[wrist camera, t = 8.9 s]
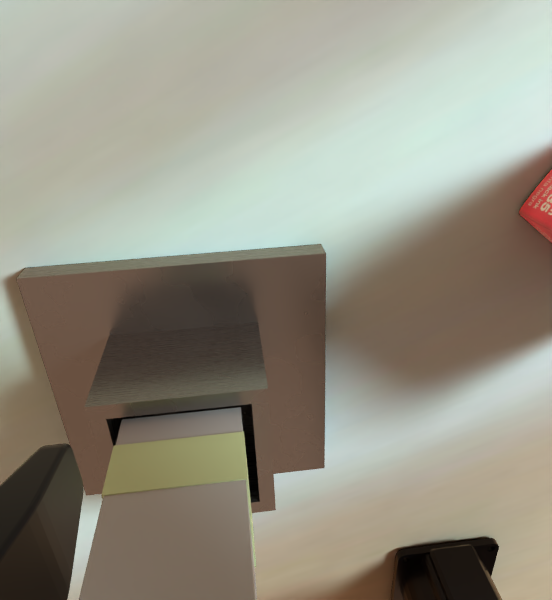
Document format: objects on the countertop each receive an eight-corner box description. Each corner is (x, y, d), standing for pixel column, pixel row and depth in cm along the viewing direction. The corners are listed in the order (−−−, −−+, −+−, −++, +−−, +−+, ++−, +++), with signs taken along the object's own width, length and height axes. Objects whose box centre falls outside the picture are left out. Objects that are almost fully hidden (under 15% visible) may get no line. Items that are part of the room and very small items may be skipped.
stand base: (320, 453, 27) (347, 559, 21) (90, 479, 26) (58, 597, 20) (321, 244, 21) (358, 317, 15) (25, 267, 20) (-45, 354, 15)
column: (250, 489, 20) (272, 778, 12) (140, 501, 20) (93, 807, 12) (241, 405, 18) (262, 690, 10) (120, 418, 18) (46, 722, 10)
